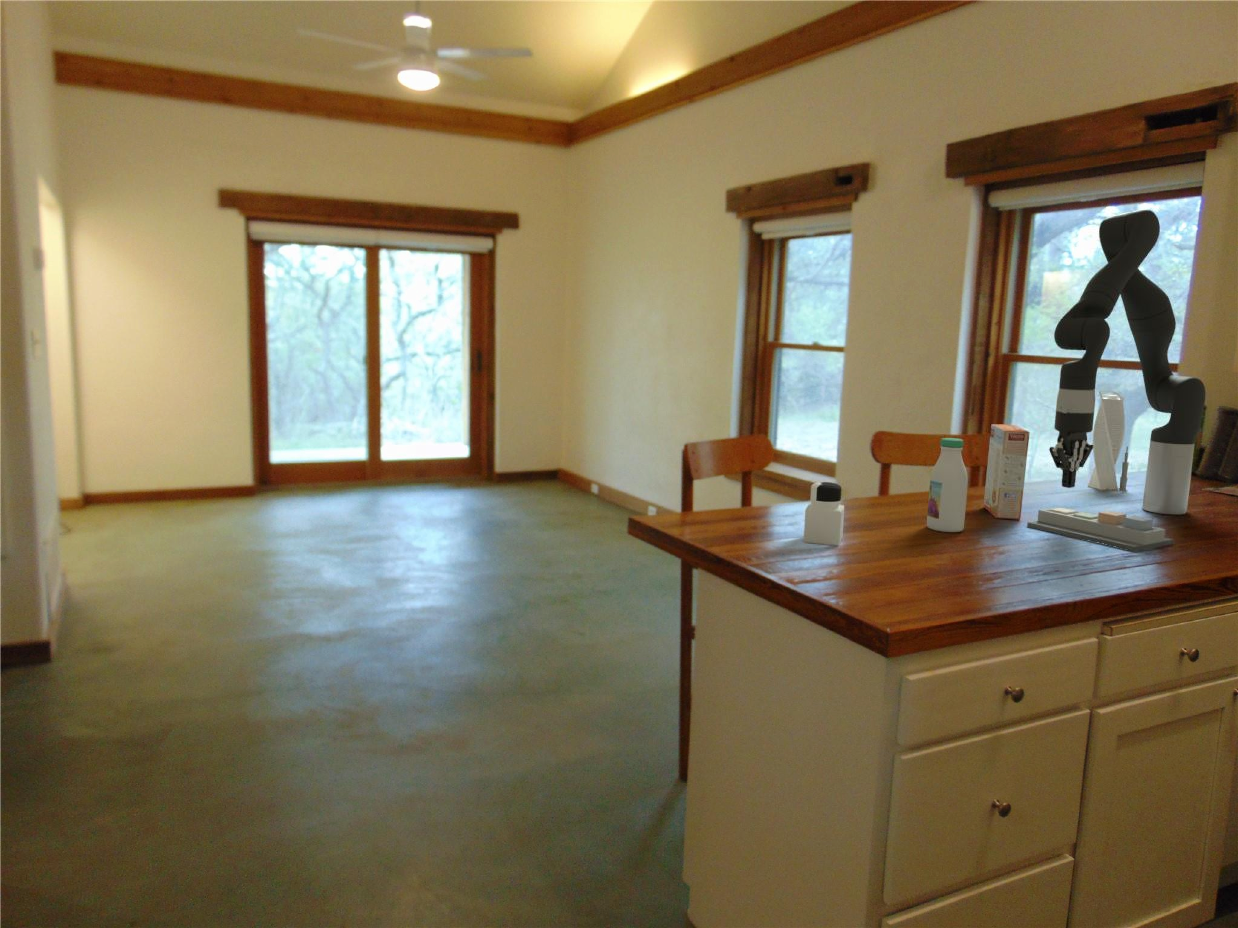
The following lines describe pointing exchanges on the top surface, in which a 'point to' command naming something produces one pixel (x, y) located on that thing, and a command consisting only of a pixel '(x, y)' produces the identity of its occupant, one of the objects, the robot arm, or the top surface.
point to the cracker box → (1006, 471)
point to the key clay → (1111, 517)
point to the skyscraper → (1109, 444)
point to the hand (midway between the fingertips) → (1067, 487)
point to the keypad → (1100, 531)
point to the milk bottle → (948, 489)
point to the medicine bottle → (824, 515)
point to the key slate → (1138, 523)
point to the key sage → (1086, 516)
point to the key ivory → (1063, 511)
